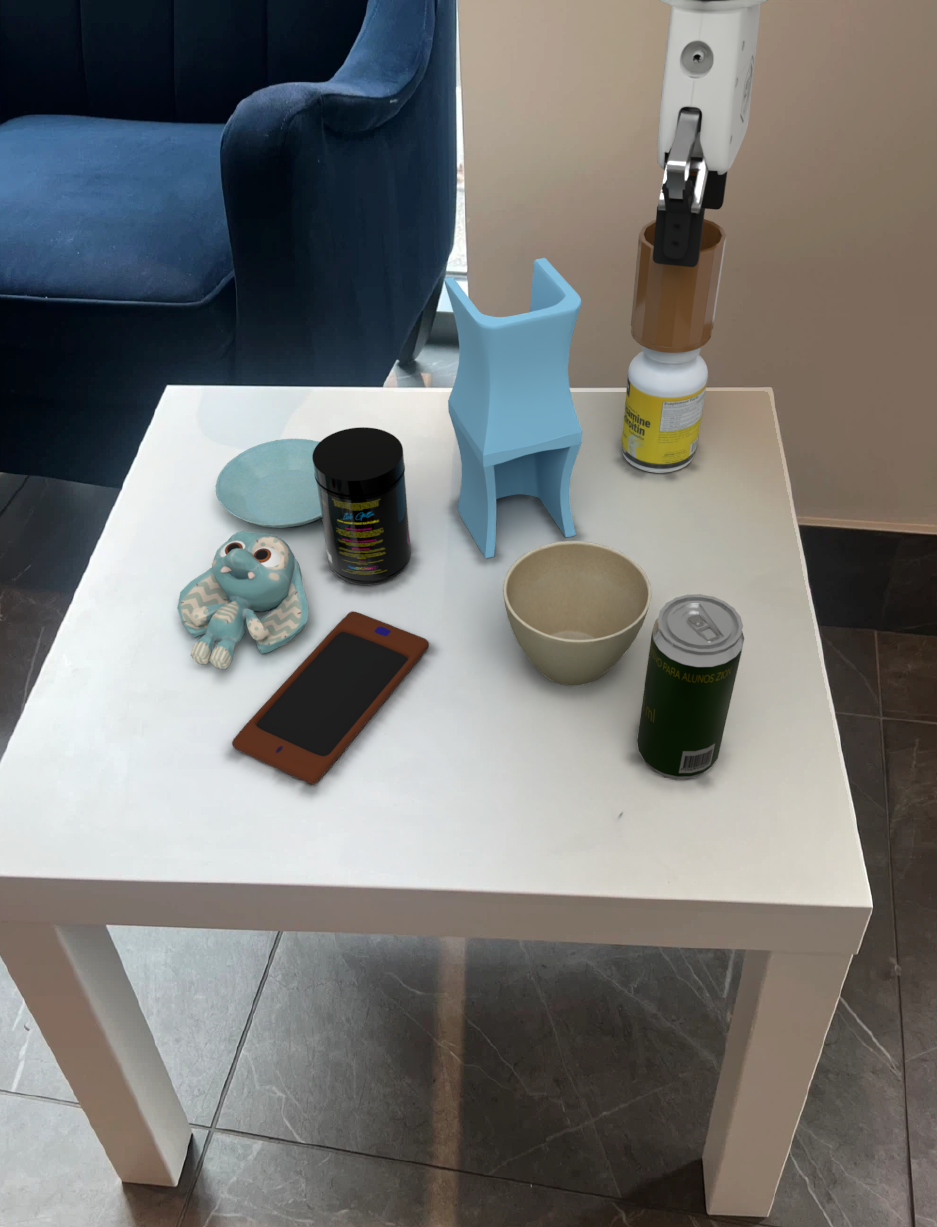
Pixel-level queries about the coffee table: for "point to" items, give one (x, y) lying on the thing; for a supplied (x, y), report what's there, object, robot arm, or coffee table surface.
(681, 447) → the pill bottle
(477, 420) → the blue doll chair
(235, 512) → the saucer
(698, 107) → the robot arm
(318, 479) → the supplement container
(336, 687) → the smartphone
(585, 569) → the flower pot
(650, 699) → the beer can
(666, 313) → the wooden cup
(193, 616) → the stuffed animal
